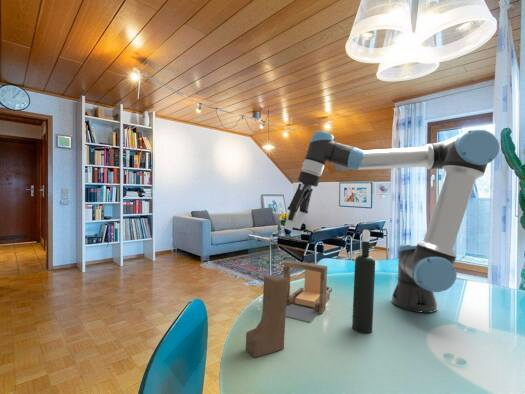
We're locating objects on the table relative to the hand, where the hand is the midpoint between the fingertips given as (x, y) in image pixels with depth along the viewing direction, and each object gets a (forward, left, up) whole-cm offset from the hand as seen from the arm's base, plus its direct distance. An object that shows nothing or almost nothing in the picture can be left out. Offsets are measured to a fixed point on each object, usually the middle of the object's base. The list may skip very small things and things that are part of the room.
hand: (292, 228), depth 105 cm
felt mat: (-8, +3, -28) cm, 29 cm away
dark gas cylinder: (-27, -5, -28) cm, 39 cm away
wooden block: (-20, +27, -28) cm, 44 cm away
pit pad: (+4, -22, -28) cm, 35 cm away
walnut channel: (-3, -7, -28) cm, 29 cm away
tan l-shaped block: (-3, -8, -28) cm, 29 cm away
